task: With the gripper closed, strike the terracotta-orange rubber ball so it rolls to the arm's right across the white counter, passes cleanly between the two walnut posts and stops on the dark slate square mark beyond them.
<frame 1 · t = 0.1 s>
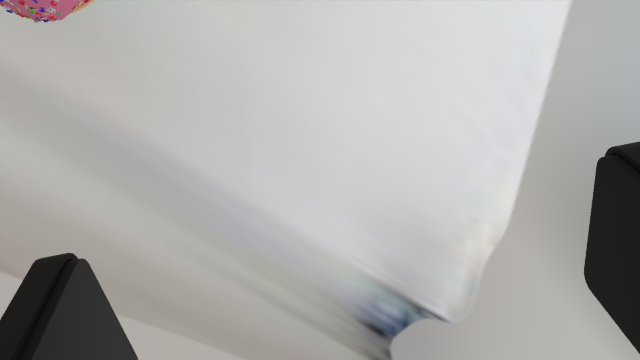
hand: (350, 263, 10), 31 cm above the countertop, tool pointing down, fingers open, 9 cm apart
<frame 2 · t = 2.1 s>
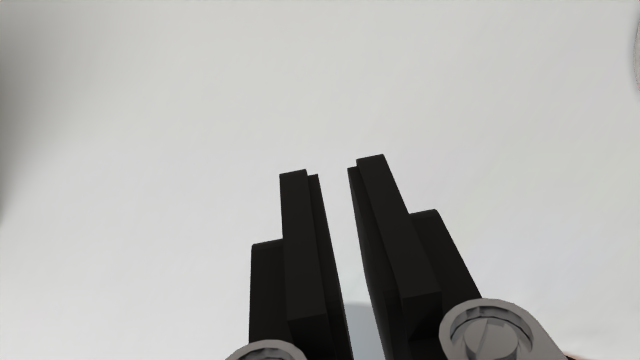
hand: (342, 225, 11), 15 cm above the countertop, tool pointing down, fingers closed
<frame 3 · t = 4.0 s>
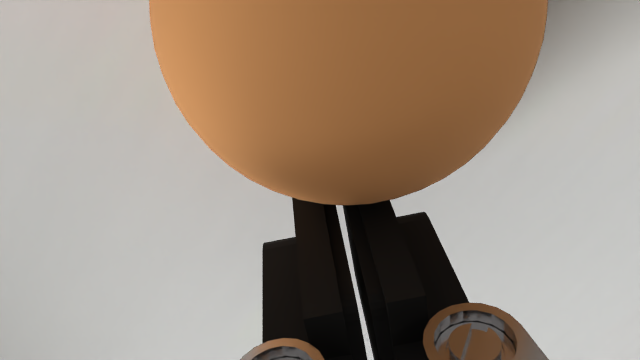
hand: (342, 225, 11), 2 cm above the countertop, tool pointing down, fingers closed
ball: (345, 18, 8), on the countertop
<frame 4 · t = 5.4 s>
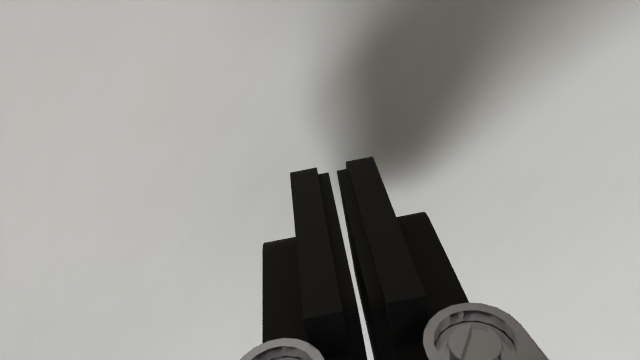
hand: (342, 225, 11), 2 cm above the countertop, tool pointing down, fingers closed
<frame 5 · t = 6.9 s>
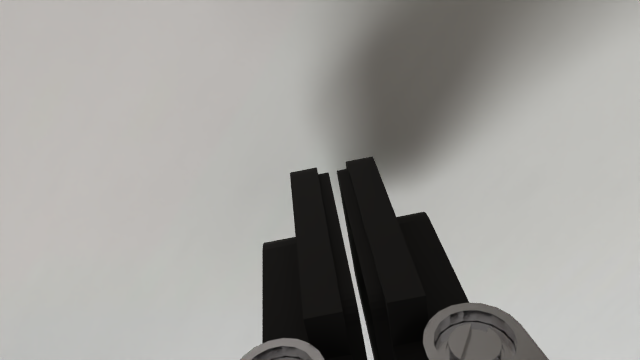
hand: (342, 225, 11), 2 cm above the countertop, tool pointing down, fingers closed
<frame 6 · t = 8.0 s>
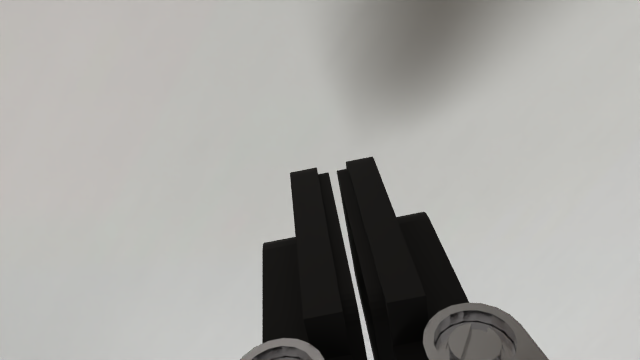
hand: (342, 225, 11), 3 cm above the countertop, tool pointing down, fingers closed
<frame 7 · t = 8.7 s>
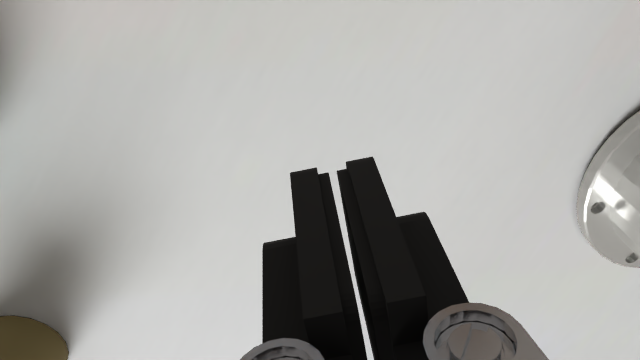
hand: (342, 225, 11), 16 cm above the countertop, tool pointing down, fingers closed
cork: (18, 348, 33), on the countertop
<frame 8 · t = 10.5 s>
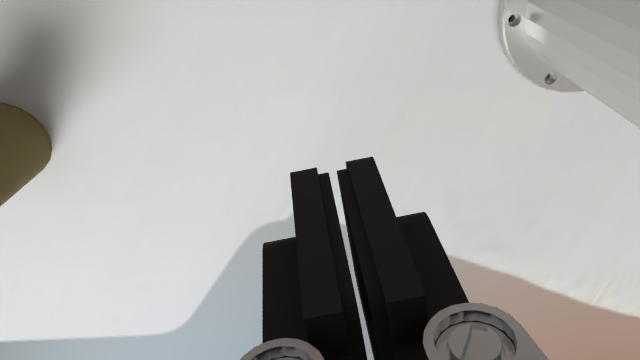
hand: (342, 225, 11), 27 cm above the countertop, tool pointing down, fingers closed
cork: (7, 141, 38), on the countertop
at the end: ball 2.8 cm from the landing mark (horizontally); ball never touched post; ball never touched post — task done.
